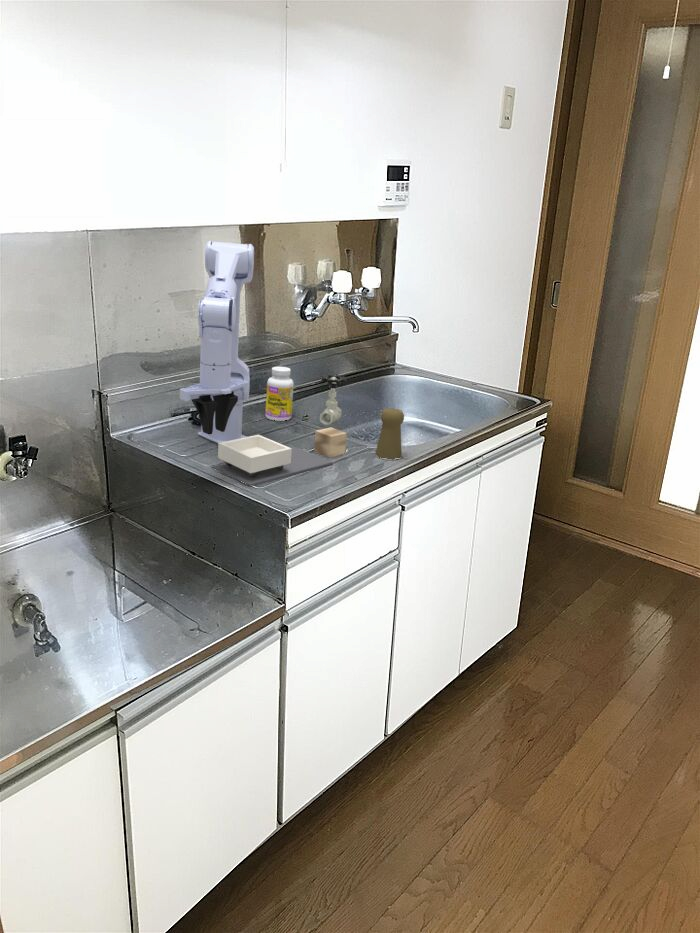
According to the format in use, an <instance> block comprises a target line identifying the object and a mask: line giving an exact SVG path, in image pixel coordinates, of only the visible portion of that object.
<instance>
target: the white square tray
mask: <svg viewBox="0 0 700 933" xmlns="http://www.w3.org/2000/svg"><path fill="white" fill-rule="evenodd" d="M217 446H218V448H217V459H220V460H222V461H224V463H225V464H226V465H228V466H232V465H234V466H236V467H238V468H241V469H243V470H245V471H247V472H249V473H248V474H249V476H251V477H255V476H256V475H257V472H258V471H262V470H266V469H270V468H274V467H275V468H276V469H277V470H279V471H281V470H282V469H283V465H286V464H290V463H291V453H292V447H289V446H287V445H284V444H282V443H281V442H280V443H279V442H277V441H275V440H272V439H271V438H270V439H269V438H268V437H265V436H263V435H261V434H254V435H251V436H247V437H245V438H240V439H235V440H231V441H226V442H221V443H217Z"/></svg>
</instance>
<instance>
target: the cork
mask: <svg viewBox="0 0 700 933" xmlns="http://www.w3.org/2000/svg"><path fill="white" fill-rule="evenodd" d="M380 420H381V421H380V422H382V424H381V429H380V433H379V437H378V441H377V446H376V449H375V453H376V455H377V456H378V457H381V458H387V459H395V458H400V457H401V458H402V430H401V429H402V426H401V425H402V424H403V423H404V420H405V414H404V412H403V411H402V410H401V409H398V408H391V407H388V408H385V409H383V410H382V412H381V414H380ZM378 457H377V458H378Z"/></svg>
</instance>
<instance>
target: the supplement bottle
mask: <svg viewBox="0 0 700 933" xmlns="http://www.w3.org/2000/svg"><path fill="white" fill-rule="evenodd" d="M291 370H292V369H291V368H289V367H287V366H274V367H271V375H272V376H271V377H269V378H268V379H267V382H266V397H265V398H266V400H265V418H266V419H268V420H269V421H274V420H275V421H276V422H285V420H287V421H289V420H290V419H291V418H292V414H293V413H292V412H293V400H294V399H293V398H294V380H293V379H292V378H290V376H291V372H292V371H291Z"/></svg>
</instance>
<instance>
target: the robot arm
mask: <svg viewBox="0 0 700 933" xmlns="http://www.w3.org/2000/svg"><path fill="white" fill-rule="evenodd" d="M204 252H205V253H204V265H205V269H206V273H207V275H208V276H209V277H208V278H209V279H208V281H207V283H206V288H205V292H204V297H203V299H199V300H198V307H197V322H198V330H199V331H198V336H199V338H200V346H199V347H200V348H199V349H200V354H199V356H200V357H199V383H196V384H193V385H190V386H187V387H184V388H179V399H180V400H182V401H183V402H184V401H185V402H190V401H191V402H192V404H193V405H194V407H195V409H196V412H197V414H198V417H199V420H200V425H201V426H200V431H198V432H197V435H198V436H200V437H203V438H205V439H207V440H209V441H212V442H214V443H216V444H218V443H221V442H226V441H231V440H235V439H240V438H245V437H248V436H247V435H244V434H242V429H243V426H242V425H243V406H244V405H243V404H244V402H247V401H248V399H249V398H250V397H249V396H250V388H251V382H250V381H251V377H250V368H249V366H248V364H246V363H245V362H244V361H243V360H242V359H240V358H239V340H240V339H239V338H240V318H241V317H240V316H241V315H240V314H241V313H240V312H241V311H240V310H241V292H242V289H243V287H244V285H245V284H248V283H252V279H253V277H254V267H255V266H254V264H255V263H254V262H255V247H254V245H253V244H252V243H248V244H246V243H236V242H235V243H234V242H233V243H232V242H225V241H224V242H222V241H213V240H208V242H207V243H206V244H205V249H204Z"/></svg>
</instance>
